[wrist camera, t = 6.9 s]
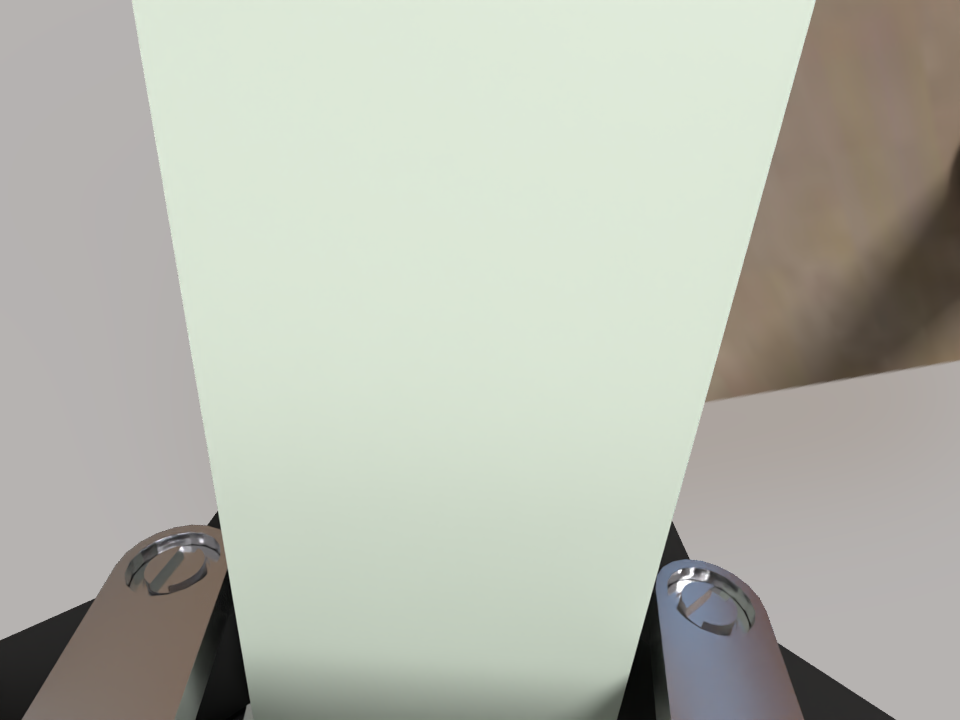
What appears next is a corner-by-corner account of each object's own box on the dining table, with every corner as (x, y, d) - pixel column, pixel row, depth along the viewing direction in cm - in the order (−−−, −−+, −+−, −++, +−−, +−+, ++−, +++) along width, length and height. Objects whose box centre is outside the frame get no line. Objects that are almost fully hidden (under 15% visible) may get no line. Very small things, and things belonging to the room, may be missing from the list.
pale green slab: (542, 81, 21) (892, -277, 3) (506, 425, 27) (533, 1023, 9) (442, 73, 21) (74, -342, 3) (430, 419, 27) (301, 1008, 9)
